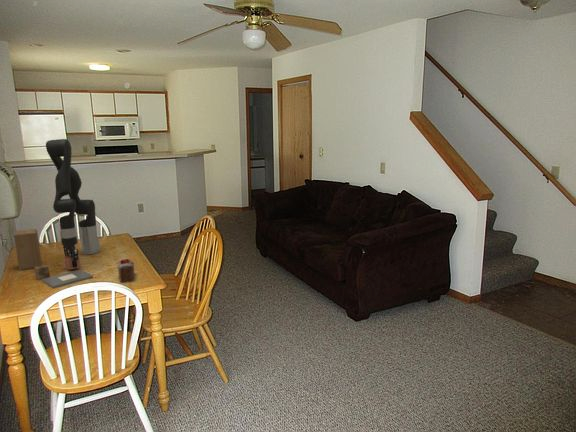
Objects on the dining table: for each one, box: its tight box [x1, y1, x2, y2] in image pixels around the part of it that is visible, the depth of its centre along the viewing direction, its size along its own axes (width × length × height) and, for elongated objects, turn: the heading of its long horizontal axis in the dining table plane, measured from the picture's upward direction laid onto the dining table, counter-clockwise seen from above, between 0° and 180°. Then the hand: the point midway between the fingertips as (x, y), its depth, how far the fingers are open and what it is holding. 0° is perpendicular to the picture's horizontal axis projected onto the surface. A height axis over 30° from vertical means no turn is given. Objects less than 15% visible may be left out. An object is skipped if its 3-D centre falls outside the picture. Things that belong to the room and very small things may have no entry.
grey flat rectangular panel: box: [41, 269, 94, 289], centre depth 210 cm, size 19×15×1 cm
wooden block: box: [13, 228, 42, 271], centre depth 229 cm, size 10×10×20 cm
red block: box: [63, 255, 81, 270], centre depth 224 cm, size 6×6×6 cm
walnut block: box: [33, 264, 51, 281], centre depth 212 cm, size 5×5×6 cm
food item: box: [117, 258, 135, 283], centre depth 211 cm, size 14×8×10 cm, turn 26°
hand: (72, 265), depth 224 cm, fingers closed on red block, 5 cm apart
